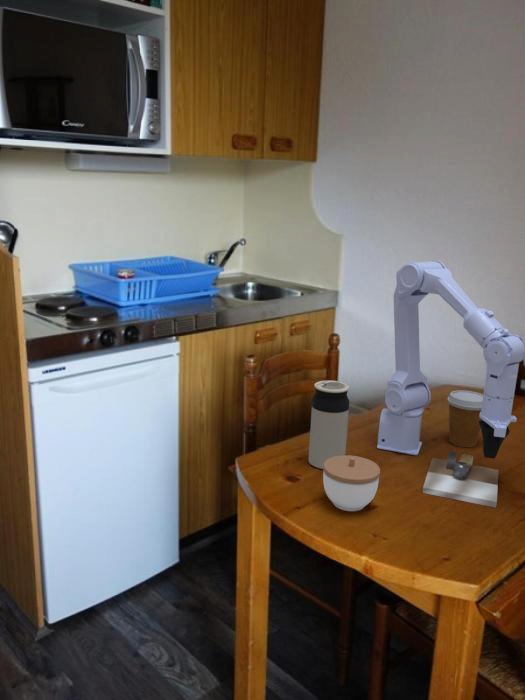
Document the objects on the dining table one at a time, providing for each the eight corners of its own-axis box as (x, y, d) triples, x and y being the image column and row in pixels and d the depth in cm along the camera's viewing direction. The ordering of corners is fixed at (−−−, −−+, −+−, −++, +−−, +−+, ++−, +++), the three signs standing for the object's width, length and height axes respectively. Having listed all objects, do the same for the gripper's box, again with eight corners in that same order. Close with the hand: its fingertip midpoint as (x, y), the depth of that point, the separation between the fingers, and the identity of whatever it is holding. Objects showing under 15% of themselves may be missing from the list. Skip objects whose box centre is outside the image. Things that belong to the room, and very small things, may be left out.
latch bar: (465, 480, 127) (467, 468, 126) (451, 476, 128) (453, 465, 128) (473, 464, 135) (475, 453, 134) (460, 461, 136) (462, 450, 135)
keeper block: (446, 468, 133) (447, 458, 133) (448, 461, 137) (449, 451, 136) (453, 470, 133) (455, 459, 132) (455, 462, 137) (456, 452, 136)
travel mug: (351, 463, 137) (358, 386, 132) (329, 474, 131) (335, 393, 126) (323, 452, 142) (328, 377, 137) (300, 462, 136) (305, 384, 132)
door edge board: (422, 492, 124) (423, 487, 124) (431, 462, 139) (432, 457, 139) (496, 507, 119) (496, 502, 119) (497, 474, 134) (498, 469, 134)
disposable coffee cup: (477, 453, 145) (484, 405, 142) (437, 443, 150) (443, 396, 147) (487, 441, 153) (493, 394, 150) (448, 432, 158) (454, 387, 155)
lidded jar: (309, 497, 121) (312, 452, 118) (353, 486, 126) (357, 443, 124) (342, 522, 112) (346, 475, 109) (388, 510, 117) (393, 464, 115)
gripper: (526, 408, 117) (515, 474, 120) (513, 386, 131) (504, 445, 134) (487, 404, 118) (478, 469, 122) (478, 382, 132) (470, 441, 135)
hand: (489, 456), depth 128 cm, fingers closed
